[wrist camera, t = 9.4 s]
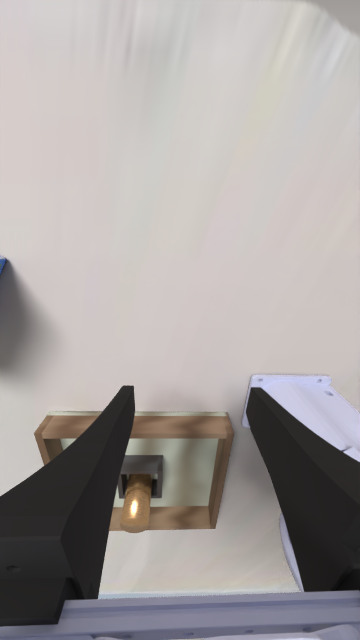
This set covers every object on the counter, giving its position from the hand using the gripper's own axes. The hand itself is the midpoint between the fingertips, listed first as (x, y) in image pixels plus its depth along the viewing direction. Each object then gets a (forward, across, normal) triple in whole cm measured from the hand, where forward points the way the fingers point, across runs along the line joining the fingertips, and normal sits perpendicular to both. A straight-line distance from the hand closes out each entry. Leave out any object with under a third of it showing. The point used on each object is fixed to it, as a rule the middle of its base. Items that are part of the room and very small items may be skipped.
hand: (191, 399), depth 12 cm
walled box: (+9, +5, +21) cm, 24 cm away
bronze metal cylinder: (+9, +5, +21) cm, 23 cm away
